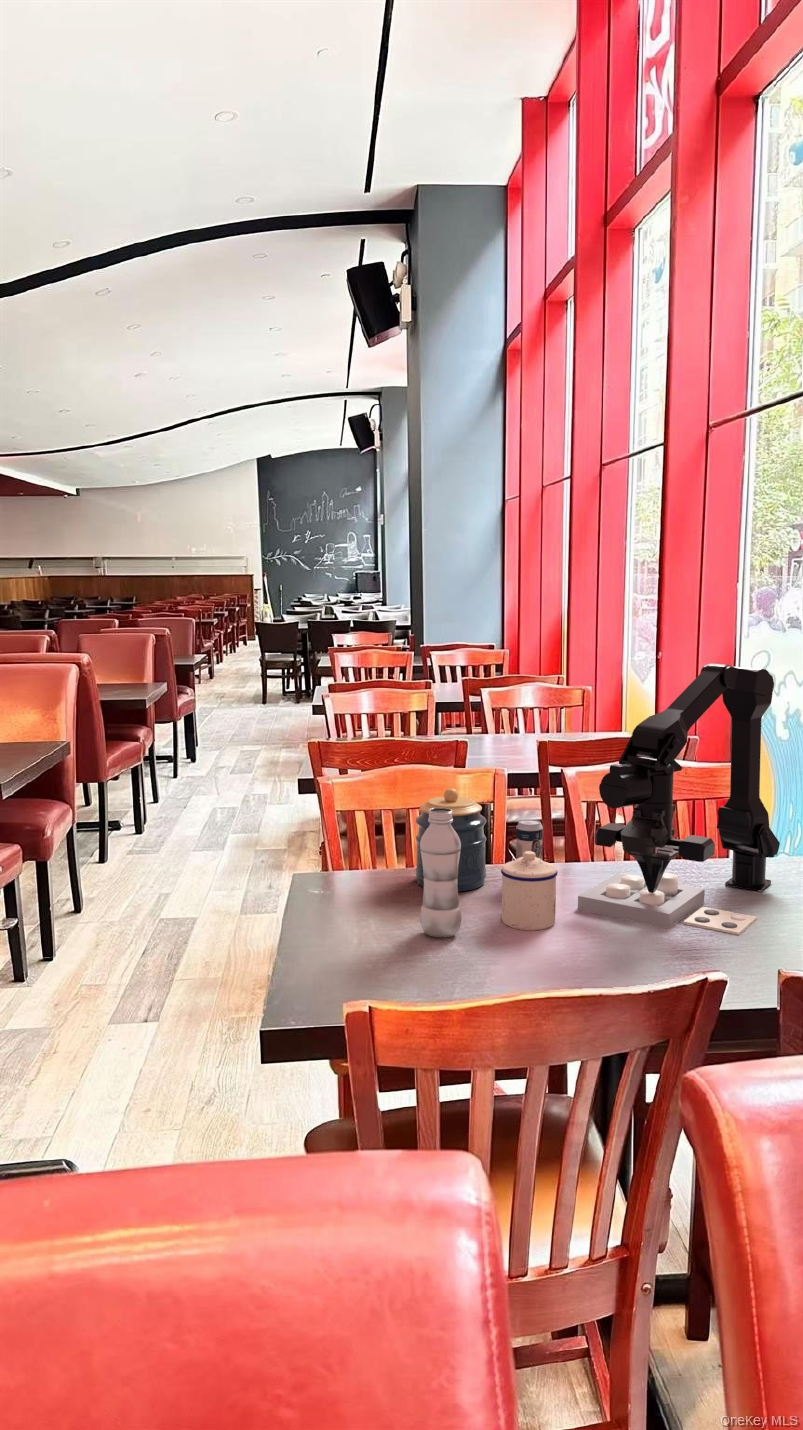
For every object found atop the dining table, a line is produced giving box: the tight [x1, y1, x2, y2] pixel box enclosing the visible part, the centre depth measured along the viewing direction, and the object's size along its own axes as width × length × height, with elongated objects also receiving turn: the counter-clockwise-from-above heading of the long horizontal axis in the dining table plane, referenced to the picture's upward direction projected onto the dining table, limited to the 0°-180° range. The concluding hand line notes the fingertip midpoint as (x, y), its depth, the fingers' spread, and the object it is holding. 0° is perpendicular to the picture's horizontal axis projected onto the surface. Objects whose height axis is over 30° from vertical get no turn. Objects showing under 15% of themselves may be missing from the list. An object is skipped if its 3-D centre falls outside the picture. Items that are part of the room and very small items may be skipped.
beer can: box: [515, 819, 544, 860], centre depth 180 cm, size 5×5×12 cm
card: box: [682, 906, 758, 936], centre depth 161 cm, size 9×9×1 cm
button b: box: [656, 872, 679, 897], centre depth 170 cm, size 4×4×3 cm
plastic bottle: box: [419, 808, 463, 938], centre depth 155 cm, size 6×7×20 cm
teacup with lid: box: [500, 851, 559, 931], centre depth 162 cm, size 12×9×12 cm
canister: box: [415, 787, 487, 892], centre depth 182 cm, size 13×13×18 cm
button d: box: [639, 890, 665, 906], centre depth 165 cm, size 4×4×3 cm
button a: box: [621, 874, 644, 891], centre depth 173 cm, size 4×4×3 cm
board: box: [577, 873, 706, 929], centre depth 169 cm, size 16×16×2 cm
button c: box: [606, 883, 630, 899], centre depth 168 cm, size 4×4×3 cm
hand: (652, 892), depth 165 cm, fingers closed
